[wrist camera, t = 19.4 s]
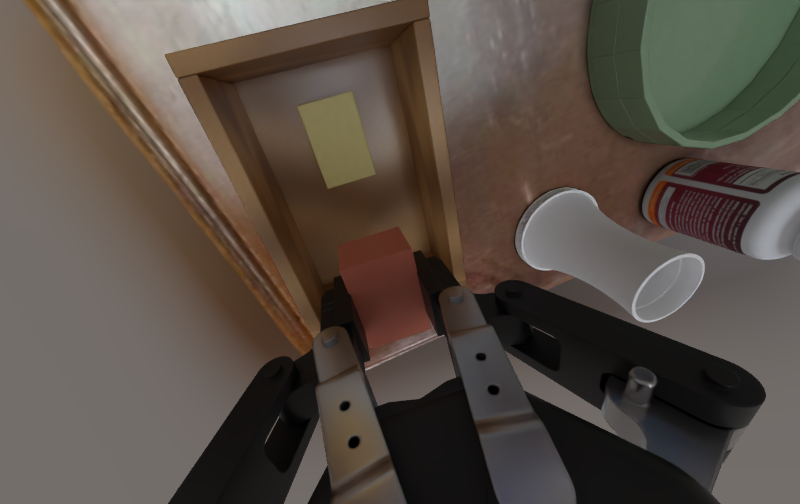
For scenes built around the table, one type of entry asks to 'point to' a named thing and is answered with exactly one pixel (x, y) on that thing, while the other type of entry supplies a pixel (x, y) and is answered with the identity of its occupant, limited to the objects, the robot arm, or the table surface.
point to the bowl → (693, 67)
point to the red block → (384, 286)
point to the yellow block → (337, 139)
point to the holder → (292, 152)
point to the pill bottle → (729, 206)
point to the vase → (606, 255)
